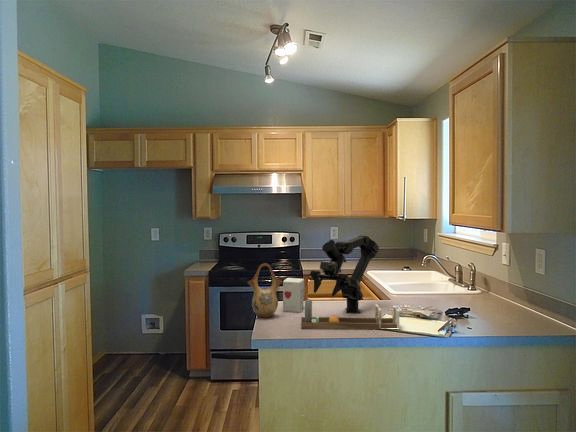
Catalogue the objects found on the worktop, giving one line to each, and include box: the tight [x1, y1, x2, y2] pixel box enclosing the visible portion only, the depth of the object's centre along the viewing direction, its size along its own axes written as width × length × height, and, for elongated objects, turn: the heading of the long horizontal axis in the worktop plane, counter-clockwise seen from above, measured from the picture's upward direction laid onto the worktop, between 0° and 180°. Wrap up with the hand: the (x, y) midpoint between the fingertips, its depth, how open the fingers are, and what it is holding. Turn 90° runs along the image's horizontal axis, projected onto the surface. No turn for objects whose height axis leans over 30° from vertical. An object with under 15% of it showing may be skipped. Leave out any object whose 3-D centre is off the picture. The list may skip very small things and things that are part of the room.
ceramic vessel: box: [246, 262, 283, 318], centre depth 180 cm, size 16×9×25 cm, turn 95°
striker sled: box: [304, 298, 320, 322], centre depth 166 cm, size 6×6×11 cm
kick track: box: [300, 303, 401, 331], centre depth 166 cm, size 8×41×8 cm, turn 88°
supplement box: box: [282, 277, 305, 313], centre depth 191 cm, size 9×9×15 cm
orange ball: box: [329, 315, 339, 323], centre depth 166 cm, size 4×4×4 cm
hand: (323, 294), depth 168 cm, fingers open, 9 cm apart
